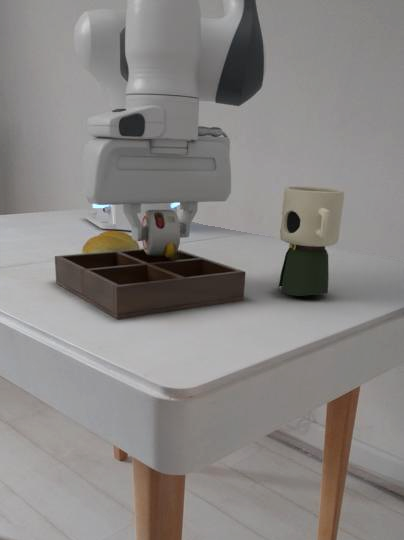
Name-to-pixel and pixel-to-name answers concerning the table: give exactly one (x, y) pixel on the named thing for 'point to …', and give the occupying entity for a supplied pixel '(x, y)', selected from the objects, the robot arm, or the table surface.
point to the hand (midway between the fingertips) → (160, 238)
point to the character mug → (309, 237)
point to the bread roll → (110, 243)
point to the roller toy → (161, 232)
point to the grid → (148, 281)
